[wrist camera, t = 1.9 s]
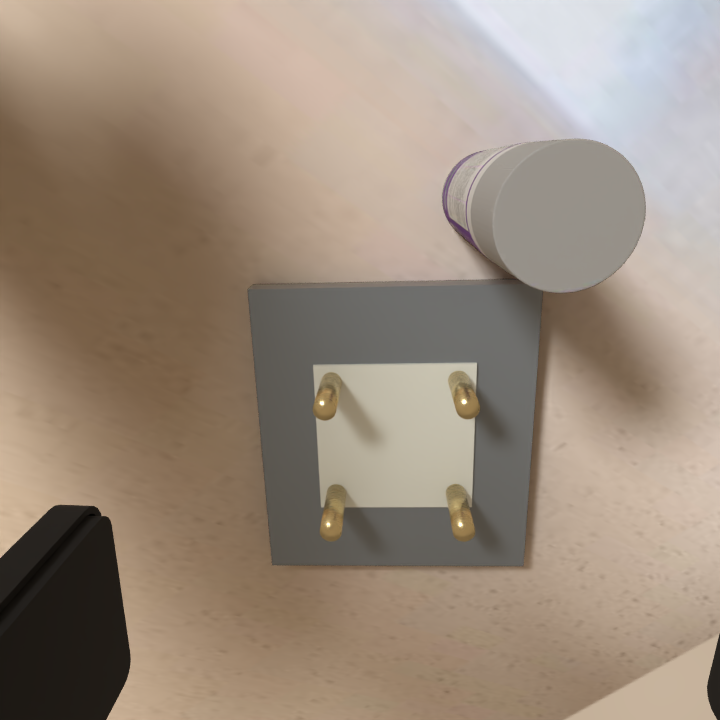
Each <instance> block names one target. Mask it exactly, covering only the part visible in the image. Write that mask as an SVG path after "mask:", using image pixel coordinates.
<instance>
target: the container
mask: <svg viewBox="0 0 720 720" xmlns="http://www.w3.org/2000/svg"><path fill="white" fill-rule="evenodd" d="M442 203H443V209H444V213H445V215H446V218H447V219H448V221H449V223H450V224H451V226H452V227H453V228H454V229H455V230H456V231H457V232H458V233H459V234H460V235H462V236H463V237H464V238H465V239H466V240H467V241H468V242H469V243H471V244H472V245H473V246H474V247H475V248H476V249H477V250H479V251H480V252H481V253H482V254H483V255H484V256H485V257H487V258H488V259H489V260H490V261H492V262H493V263H495V264H497V265H498V266H500V267H501V268H502V269H504V270H505V271H507V272H508V273H510V274H511V275H513V276H514V277H516V278H517V279H519V280H520V281H522V282H523V283H525V284H526V285H528V286H530V287H533V288H535V289H538V290H541V291H545V292H551V293H571V292H576V291H581V290H585V289H587V288H590V287H592V286H595V285H597V284H599V283H601V282H602V281H604V280H606V279H607V278H608V277H610V276H611V275H612V274H614V273H615V272H616V271H617V270H618V269H619V268H620V267H621V266H622V265H623V264H624V263H625V262H626V260H627V259H628V258H629V257H630V255H631V254H632V252H633V250H634V249H635V247H636V245H637V243H638V241H639V238H640V236H641V233H642V229H643V226H644V221H645V210H646V205H645V195H644V190H643V187H642V183H641V181H640V179H639V176H638V174H637V173H636V171H635V169H634V168H633V166H632V165H631V164H630V163H629V161H628V160H627V159H626V158H625V157H624V156H623V155H621V154H620V153H619V152H618V151H616V150H615V149H613V148H611V147H609V146H608V145H605V144H603V143H600V142H597V141H593V140H587V139H565V140H551V141H539V142H526V143H520V144H515V145H510V146H505V147H500V148H495V149H490V150H485V151H480V152H477V153H474V154H471V155H469V156H467V157H466V158H464V159H463V160H461V161H460V162H459V163H458V164H457V165H456V166H455V167H454V168H453V169H452V170H451V172H450V174H449V175H448V177H447V179H446V182H445V184H444V188H443V194H442Z"/></svg>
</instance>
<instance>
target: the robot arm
mask: <svg viewBox="0 0 720 720" xmlns="http://www.w3.org/2000/svg"><path fill="white" fill-rule="evenodd" d="M130 660H131V659H130V649H129V642H128V635H127V628H126V621H125V614H124V607H123V600H122V593H121V586H120V579H119V573H118V566H117V559H116V552H115V545H114V538H113V531H112V525H111V521H110V519H109V518H108V517H106V516H101V513H100V511H99V509H98V508H96V507H95V506H75V505H56V506H54V507H53V508H51V509H50V510H49V511H48V512H47V513H46V514H45V515H44V516H43V517H42V518H41V519H40V520H39V521H38V522H37V523H36V524H35V525H33V526H32V527H31V528H30V529H29V530H28V531H27V532H26V533H25V534H24V535H23V536H22V537H21V538H20V539H19V540H18V541H17V542H16V543H15V544H14V545H13V546H12V547H11V548H10V549H9V550H8V551H7V552H6V553H5V554H4V555H3V556H2V557H1V558H0V720H106V719H107V717H108V715H109V713H110V711H111V710H112V708H113V706H114V704H115V702H116V700H117V698H118V696H119V694H120V692H121V690H122V688H123V687H124V685H125V682H126V680H127V677H128V674H129V669H130ZM707 691H708V699H709V702H710V706H711V709H712V711H713V713H714V715H715V716H716V718H717V720H720V634H719V639H718V643H717V647H716V651H715V655H714V659H713V663H712V667H711V671H710V675H709V680H708V685H707Z"/></svg>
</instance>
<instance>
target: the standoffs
mask: <svg viewBox="0 0 720 720" xmlns="http://www.w3.org/2000/svg"><path fill="white" fill-rule="evenodd" d="M341 385H342V380H341V377H340V376H339V375H338V374H336V373H334V372H329V373H326V374H325V375H323V377H322V379H321V382H320V385H319V389H318V392H317V395H316V398H315V402H314V405H313V413H314V415H315V417H316V418H318V419H320V420H323V421H326V420H330V419H332V418H333V417H334V416H335V414H336V410H337V405H338V400H339V395H340V390H341ZM448 385H449V388H450V391H451V395H452V398H453V402H454V405H455V409H456V412H457V414H458V415H459V416H460V417H461V418H463V419H472V418H474V417H476V416H477V415H478V414H479V411H480V404H479V402H478V399H477V397H476V394H475V392H474V389H473V387H472V384H471V382H470V379H469V377H468V375H467V374H466V373H465V372H463V371H455V372H453V373H451V374H450V376H449V378H448ZM446 499H447V504H448V509H449V515H450V520H451V526H452V531H453V536H454V537H455V538H456V539H457V540H458V541H462V542H466V541H469V540H471V539H472V538H473V537H474V535H475V527H474V523H473V519H472V515H471V511H470V507H469V503H468V499H467V495H466V491H465V489H464V487H463V486H461V485H459V484H453V485H450V486H449V487H448V488H447V489H446ZM345 501H346V490H345V488H344V487H343V486H341V485H338V484H335V485H331V486H330V487H329V488H328V489H327V493H326V499H325V504H324V510H323V515H322V521H321V526H320V535H321V537H322V538H323V539H324V540H326V541H336V540H338V539H339V538H340V537H341V534H342V526H343V518H344V509H345Z"/></svg>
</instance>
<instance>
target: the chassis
mask: <svg viewBox="0 0 720 720" xmlns="http://www.w3.org/2000/svg"><path fill="white" fill-rule="evenodd" d="M542 296H543V291H541V290H538V289H535V288H533V287H530V286H528V285H526V284H525V283H523V282H522V281H520V280H519V279H494V280H444V281H394V282H345V283H295V284H253V285H252V286H251V287H250V288H249V289H248V300H249V311H250V322H251V333H252V344H253V356H254V367H255V378H256V389H257V400H258V412H259V423H260V434H261V445H262V457H263V468H264V479H265V490H266V501H267V513H268V524H269V535H270V546H271V557H272V565H346V566H523V565H524V551H525V537H526V523H527V508H528V494H529V480H530V466H531V452H532V438H533V423H534V409H535V395H536V381H537V367H538V353H539V338H540V324H541V310H542ZM455 371H463V372H465V373H466V374H467V375H468V377H469V379H470V382H471V384H472V387H473V389H474V392H475V394H476V397H477V399H478V402H479V404H480V411H479V414H478V415H477V416H476V417H474V418H472V419H463V418H461V417H460V416H459V415H458V414H457V412H456V409H455V405H454V402H453V398H452V395H451V391H450V388H449V385H448V378H449V376H450V374H451V373H453V372H455ZM329 372H334V373H336V374H338V375H339V376H340V377H341V380H342V385H341V390H340V395H339V400H338V405H337V410H336V414H335V416H334V417H333V418H332V419H330V420H326V421H323V420H320V419H318V418H316V417H315V415H314V413H313V405H314V402H315V398H316V395H317V392H318V389H319V385H320V382H321V379H322V377H323V375H325V374H326V373H329ZM335 484H338V485H341V486H343V487H344V488H345V490H346V501H345V509H344V518H343V526H342V534H341V537H340V538H339V539H338V540H336V541H326V540H324V539H323V538H322V537H321V535H320V526H321V521H322V515H323V510H324V504H325V499H326V493H327V489H328V488H329V487H330V486H331V485H335ZM453 484H459V485H461V486H463V487H464V489H465V491H466V495H467V499H468V503H469V507H470V511H471V515H472V519H473V523H474V527H475V535H474V537H473V538H472V539H471V540H469V541H466V542H462V541H458V540H457V539H456V538H455V537H454V536H453V531H452V526H451V520H450V515H449V509H448V504H447V499H446V489H447V488H448V487H449V486H450V485H453Z"/></svg>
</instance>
